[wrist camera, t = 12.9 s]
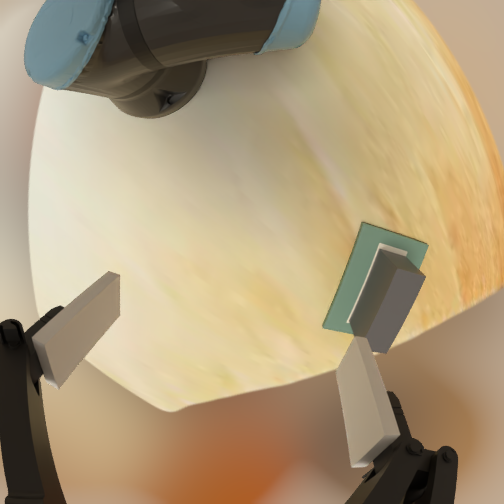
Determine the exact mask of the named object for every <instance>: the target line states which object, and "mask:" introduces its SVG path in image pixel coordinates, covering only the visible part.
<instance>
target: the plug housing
mask: <svg viewBox="0 0 504 504" xmlns="http://www.w3.org/2000/svg"><path fill="white" fill-rule="evenodd" d="M425 278H426V276H425V275H424V274H423V273H422V272H421V271H420V270H419V269H418V268H417V267H416V266H415V265H414V264H413V263H412V262H411V261H410V260H409V259H408V258H406V257H405V256H403V255H399V254H396V253H393V252H390V251H386V250H383V249H380V248H379V250H378V253H377V256H376V258H375V261H374V264H373V266H372V269H371V271H370V274H369V276H368V279H367V281H366V283H365V286H364V288H363V290H362V293H361V295H360V297H359V300H358V302H357V304H356V307H355V309H354V311H353V313H352V315H351V318H350V320H349V323H350V325H351V328H352V331H353V334H354V337H355V336H358V337H364V338H367V340H368V342H369V345H370V348H371V350H372V352H379V353H387V352H388V350H389V348H390V346H391V345H392V343H393V341H394V339H395V338H396V336H397V334H398V332H399V330H400V329H401V327H402V325H403V323H404V321H405V319H406V317H407V315H408V313H409V311H410V309H411V307H412V305H413V303H414V301H415V299H416V297H417V295H418V293H419V291H420V289H421V287H422V284H423V282H424V280H425Z"/></svg>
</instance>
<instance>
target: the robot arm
mask: <svg viewBox="0 0 504 504" xmlns="http://www.w3.org/2000/svg"><path fill="white" fill-rule="evenodd" d="M320 4H321V0H46V2H45V3H44V4H43V6H42V7H41V9H40V10H39V12H38V14H37V16H36V17H35V19H34V21H33V23H32V25H31V28H30V30H29V33H28V36H27V40H26V44H25V51H24V64H25V69H26V71H27V73H28V75H29V77H31V78H32V80H33V81H34V82H35V83H37V84H41V85H43V86H47V87H50V88H52V89H55V90H69V91H75V92H81V93H87V94H92V95H97V96H102V97H107V98H109V99H110V100H111V101H112V102H113V103H114V104H115V105H116V106H117V107H118V108H119V109H120V110H121V111H123V112H124V113H126V114H129V115H131V116H135V117H140V118H148V119H149V118H159V117H163V116H166V115H169V114H171V113H173V112H175V111H177V110H178V109H180V108H181V107H183V106H184V105H185V104H186V103H187V102H188V101H189V100H190V99H191V98H192V97H193V96H194V95H195V93H196V92H197V90H198V89H199V87H200V85H201V83H202V81H203V79H204V76H205V72H206V59H212V58H218V57H225V56H231V55H239V54H248V53H253V54H254V55H260V54H263V53H264V52H268V51H277V50H289V49H294V48H298V47H300V46H301V45H302V44H304V43H305V42H306V41H307V40H308V39H309V38H310V36H311V34H312V33H313V30H314V28H315V25H316V22H317V19H318V15H319V10H320ZM119 316H120V275H119V274H116V273H113V272H110V271H108V272H107V273H106V274H105V275H103V276H102V277H101V278H100V279H98V280H97V281H96V282H95V283H93V284H92V285H91V286H90V287H89V288H87V289H86V290H85V291H84V292H83V293H81V294H80V295H79V296H78V297H77V298H75V299H74V300H73V301H72V302H71V303H70V304H68V305H67V306H66V307H65V308H64V307H62V306H58V307H55V308H53V309H51V310H50V311H49V312H47V313H46V314H45V316H43V317H42V318H40V320H38V321H37V322H36V323H35V324H34V325H33V326H31V327H30V328H29V329H28V330H27V331H26V332H25V333H24V331H23V327H22V324H21V323H20V322H19V321H17V320H15V319H8V320H5V321H3V322H1V323H0V442H1V451H2V459H3V466H4V472H5V477H6V482H7V487H8V496H7V497H6V498H5V504H67V503H66V501H65V498H64V495H63V492H62V489H61V486H60V483H59V479H58V476H57V472H56V468H55V465H54V461H53V457H52V452H51V448H50V443H49V438H48V433H47V427H46V421H45V415H44V408H43V400H42V391H41V382H40V379H39V378H40V377H41V376H42V375H43V374H44V377H45V380H46V382H47V383H49V384H50V385H52V386H53V387H55V388H57V389H60V387H61V386H62V385H63V383H64V382H65V381H66V380H67V378H68V377H69V376H70V375H71V373H72V372H73V371H74V369H75V368H76V367H77V365H79V363H80V362H81V361H82V360H83V358H84V357H85V356H86V355H87V354H88V352H89V351H90V350H91V349H92V348H93V346H94V345H95V344H96V343H97V342H98V340H99V339H100V338H101V337H102V336H103V335H104V333H105V332H106V331H107V330H108V329H109V328H110V326H111V325H112V324H113V323H114V322H115V321H116V319H117V318H118V317H119ZM336 376H337V382H338V386H339V392H340V398H341V404H342V409H343V415H344V421H345V428H346V434H347V441H348V448H349V455H350V462H351V467H366V466H367V465H369V464H370V463H371V462H372V461H373V463H374V468H372V469H371V470H370V471H369V472H367V473H366V474H365V475H364V476H363V477H362V478H365V479H364V480H363V481H362V483H361V484H360V485H359V486H358V488H357V489H356V490H355V492H354V493H353V494H352V495H351V497H350V498H349V499H348V500H347V502H346V503H345V504H454V499H455V491H456V480H457V468H458V455H457V453H456V451H455V450H454V449H453V448H451V447H449V446H443V447H441V448H440V449H439V450H438V451H431V450H427V449H424V447H423V445H422V443H420V442H419V441H418V440H416V439H414V438H412V437H411V434H410V431H409V428H408V425H407V422H406V419H405V416H404V415H403V414H404V413H403V410H402V409H401V405H400V402H399V399H398V398H397V397H396V395H395V394H394V393H393V392H390V391H386V389H385V386H384V383H383V380H382V378H381V375H380V372H379V369H378V366H377V364H376V361H375V358H374V355H373V353H372V350H371V348H370V345H369V342H368V340H367V338H364V337H358V336H355V337H354V339H353V340H352V342H351V344H350V346H349V348H348V350H347V352H346V354H345V355H344V357H343V359H342V361H341V363H340V365H339V366H338V368H337V370H336Z"/></svg>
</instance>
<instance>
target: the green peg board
mask: <svg viewBox="0 0 504 504" xmlns="http://www.w3.org/2000/svg"><path fill="white" fill-rule="evenodd" d="M428 246H429V245H427V244H426V243H423V242H420V241H417V240H415V239H412V238H409V237H406V236H403V235H400V234H397V233H394V232H391V231H388V230H385V229H382V228H379V227H376V226H373V225H370V224H367V223H364V222H362V224H361V227H360V229H359V232H358V235H357V238H356V241H355V244H354V247H353V250H352V252H351V255H350V258H349V261H348V263H347V266H346V269H345V271H344V274H343V276H342V279H341V282H340V284H339V287H338V289H337V292H336V294H335V297H334V299H333V302H332V304H331V306H330V309H329V311H328V313H327V316H326V318H325V320H324V323H323V325H322V326H323V328H324V329H329V330H334V331H339V332H344V333H349V334H353V331H352V328H351V325H350V323H349V320H350V318H351V315H352V313H353V311H354V309H355V307H356V304H357V302H358V300H359V297H360V295H361V293H362V290H363V288H364V286H365V283H366V281H367V279H368V276H369V274H370V271H371V269H372V266H373V264H374V261H375V258H376V256H377V253H378V250H379V248H380V249H383V250H386V251H390V252H393V253H396V254H399V255H403V256H405V257H406V258H408V259H409V260H410V261H411V262H412V263H413V264H414V265H415V266H416V267H417V268H418V269H419V268H420V266H421V264H422V261H423V259H424V256H425V254H426V251H427V249H428Z"/></svg>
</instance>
